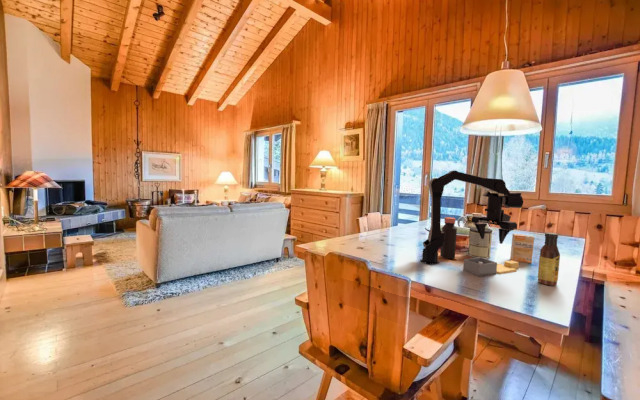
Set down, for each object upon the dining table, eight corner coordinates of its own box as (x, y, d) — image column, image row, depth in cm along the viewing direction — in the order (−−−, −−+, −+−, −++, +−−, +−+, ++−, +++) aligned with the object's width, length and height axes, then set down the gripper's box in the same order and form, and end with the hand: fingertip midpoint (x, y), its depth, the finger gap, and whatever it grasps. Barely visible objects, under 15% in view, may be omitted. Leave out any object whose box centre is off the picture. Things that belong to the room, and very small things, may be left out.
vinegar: (437, 255, 152) (439, 217, 150) (448, 255, 154) (451, 216, 152) (446, 259, 145) (448, 219, 143) (457, 258, 147) (460, 219, 145)
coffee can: (464, 252, 159) (466, 226, 158) (484, 253, 158) (486, 227, 157) (472, 258, 149) (474, 230, 147) (494, 259, 148) (496, 231, 146)
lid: (499, 274, 126) (499, 268, 126) (481, 268, 134) (482, 262, 134) (524, 270, 132) (524, 264, 132) (506, 264, 140) (506, 258, 139)
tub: (478, 276, 122) (479, 264, 122) (463, 270, 130) (463, 259, 129) (496, 274, 126) (497, 262, 125) (479, 268, 133) (480, 257, 133)
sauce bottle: (558, 287, 112) (563, 236, 110) (537, 284, 115) (542, 233, 113) (555, 282, 118) (561, 233, 116) (536, 279, 121) (541, 231, 119)
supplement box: (512, 261, 145) (514, 234, 144) (510, 258, 150) (512, 233, 149) (532, 263, 142) (534, 236, 141) (529, 260, 147) (531, 234, 145)
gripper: (527, 209, 127) (524, 244, 129) (488, 204, 144) (486, 235, 146) (509, 209, 123) (506, 246, 124) (471, 204, 140) (469, 237, 142)
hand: (491, 241), depth 134 cm, fingers open, 9 cm apart
